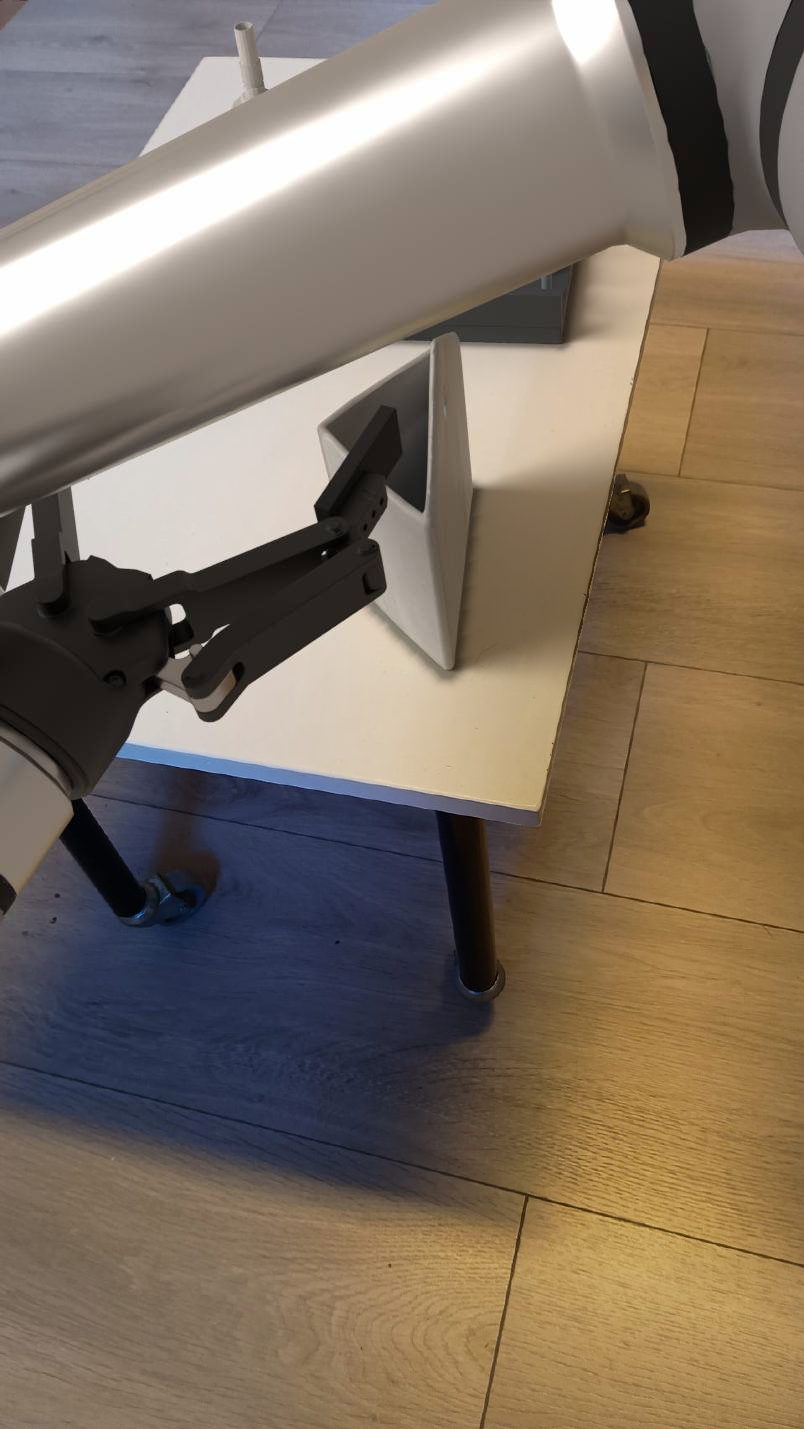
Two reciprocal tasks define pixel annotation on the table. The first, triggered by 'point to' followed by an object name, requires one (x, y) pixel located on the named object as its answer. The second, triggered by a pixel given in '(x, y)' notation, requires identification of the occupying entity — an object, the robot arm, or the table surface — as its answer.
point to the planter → (419, 492)
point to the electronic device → (248, 63)
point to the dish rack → (513, 315)
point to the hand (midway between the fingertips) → (264, 396)
